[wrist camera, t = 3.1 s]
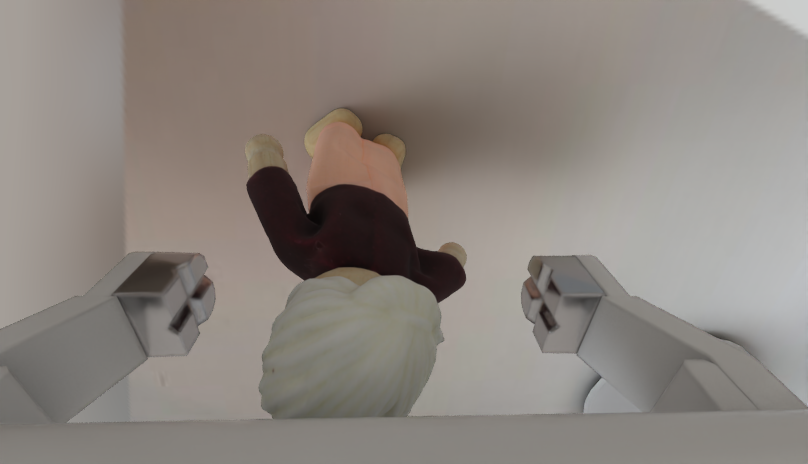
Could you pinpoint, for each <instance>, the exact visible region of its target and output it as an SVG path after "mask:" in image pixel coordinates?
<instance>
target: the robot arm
mask: <svg viewBox="0 0 808 464" xmlns="http://www.w3.org/2000/svg"><path fill="white" fill-rule="evenodd" d="M207 269H208V265H207V262H206V260H205V257H204V256H203V255H201V254H200V253H180V252H133V253H129V254H128V255H127V256H126V257H124V258H123V259H122V260H121V261H120V262H119V263H118V264H117V265H116V266H115V267H114V268H113V269H112V270H110V271H109V272H108V273H107V274H106V275H105V276H104V277H103V278H102V279H101V280H100V281H99V282H98V283H96V284H95V285H94V286H93V287H92V288H91V289H90V290H89V291H88V292H87V293H86V294H85V295H83V296H75V297H72V298H70V299H68V300H65V301H63V302H61V303H58V304H56V305H54V306H52V307H49V308H47V309H45V310H43V311H41V312H38V313H36V314H33V315H31V316H29V317H27V318H24V319H22V320H20V321H18V322H16V323H13V324H11V325H9V326H6V327H4V328H2V329H0V464H808V407H807V406H806V405H805V404H804V403H803V402H802V401H801V400H800V399H799V398H798V397H797V396H796V395H795V394H793V393H792V392H791V391H790V390H789V389H788V388H787V387H786V386H785V385H784V384H783V383H782V382H781V381H780V380H779V379H777V378H776V377H775V376H774V375H773V374H772V373H771V372H770V371H769V370H768V369H767V368H766V367H765V366H764V365H763V364H761V363H760V362H759V361H758V360H757V359H756V358H755V357H753V356H751V355H749V354H747V353H745V352H743V351H741V350H740V349H738V348H736V347H734V346H732V345H730V344H728V343H726V342H724V341H722V340H720V339H718V338H716V337H714V336H712V335H711V334H709V333H707V332H705V331H703V330H701V329H699V328H697V327H695V326H693V325H691V324H689V323H687V322H685V321H683V320H682V319H680V318H678V317H676V316H674V315H672V314H670V313H668V312H666V311H664V310H662V309H660V308H658V307H656V306H654V305H653V304H651V303H649V302H647V301H645V300H643V299H641V298H639V297H637V296H630V295H629V294H628V293H627V292H626V291H625V289H624V288H623V287H622V286H621V285H620V284H619V283H618V281H617V280H616V279H615V278H614V277H613V276H612V274H611V273H610V272H609V271H608V270H607V269H606V268H605V266H604V265H603V264H602V263H601V262H600V261H599V259H598V258H597V257H595V256H593V255H572V256H533V257H532V258H531V260H530V262H529V265H528V271H529V273H530V275H531V277H529V278H528V279H527V280H526V281H525V282H524V283H523V287H522V292H521V304H522V308H523V311H524V314H525V316H526V318H527V319H528V320H529V321H531V322H532V323H534V324H535V325H534V329H533V334H534V336H535V338H536V340H537V342H538V344H539V346H540V349H541V351H542V353H577V356H578V357H579V358H581V359H582V360H583V361H584V362H585V363H586V364H587V365H589V366H590V367H591V368H592V369H593V370H594V371H595V372H597V373H598V374H599V375H600V376H601V377H602V378H604V379H605V380H606V381H607V382H608V383H609V384H610V385H612V386H613V387H614V388H615V389H616V390H617V391H618V392H620V393H621V394H622V395H623V396H624V397H625V398H626V399H628V400H629V401H630V402H631V403H632V404H633V405H634V406H636V407H637V408H638V409H639V410H640V411H641V412H627V413H572V414H518V415H466V416H412V417H358V418H304V419H250V420H196V421H143V422H90V423H66V422H67V421H69V420H70V419H71V418H73V417H74V416H75V415H76V414H78V413H79V412H80V411H82V410H83V409H84V408H85V407H87V406H88V405H89V404H91V403H92V402H93V401H95V400H96V399H97V398H98V397H99V396H101V395H102V394H104V393H105V392H106V391H107V390H109V389H110V388H111V387H113V386H114V385H115V384H116V383H118V382H119V381H120V380H122V379H123V378H124V377H125V376H127V375H128V374H129V373H131V372H132V371H133V370H135V369H136V368H137V367H138V366H140V365H141V364H142V363H144V362H145V361H146V360H147V359H148V358H147V357H169V356H187V355H188V353H189V351H190V350H191V348H192V346H193V345H194V343H195V341H196V339H197V338H198V336H199V334H200V332H199V329H198V326H199V325H200V324H202V323H203V322H205V321H206V320H208V319H209V317H210V315H211V313H212V311H213V308H214V304H215V299H216V298H215V288H214V284H213V282H212V281H211V280H210V279H209V278H208V277H206V276H205V275H204V274H205V272H206V270H207Z"/></svg>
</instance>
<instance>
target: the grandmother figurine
mask: <svg viewBox="0 0 808 464" xmlns="http://www.w3.org/2000/svg"><path fill="white" fill-rule="evenodd" d="M362 131H363V128H362V124H361V121H360V120H359V119H358V117H357V116H356V115H355V114H353V113H352V112H351V111H349V110H347V109H343V108H340V109H336V110H334V111H332V112H331V113H329V114H328V115H326V116H325V117H324V118H322V119H321V120H320V121H318V122H317V123H316V124H315V125H313V126H312V127H311V128H310V129H309V130H308V131H307V133H306V135H305V139H304V143H305V148H306V150H307V152H308V154H309V155H310V157H311V158H312V159H313V160H312V164H311V167H310V171H309V176H308V181H307V188H306V190H307V196H308V208H309V214H307V213H306V211H305V208H304V206H303V202H302V200H301V197H300V195H299V192H298V190H297V186H296V185H295V183H294V181H293V180H292V178H291V176H290V175H289V173H288V169H287V165H286V162H285V161H284V159H283V149H282V147H281V145H280V143H279V142H278V140H276V139H275V138H274V137H272V136H270V135H265V134H260V135H256V136H254V137H253V138H251V139H250V140H249V141H248V143H247V144H246V147H245V155H246V158H247V160H248V177H249V180H248V182H247V191H248V194H249V197H250V199H251V201H252V204H253V206H254V208H255V210H256V212H257V215H258V217H259V219H260V221H261V224H262V226H263V228H264V230H265V232H266V235H267V236H268V238H269V240H270V243H271V245H272V247H273V249H274V251H275V253H276V255H277V256H278V258H279V259H280V261H281V262H282V263H283V264H284V265H285V266H286V267H287V268H288V269H289V270H291V271H292V272H293V273H295V274H296V275H297V276H299V277H300V278H302V279H303V280H304V281H303V282H302V283H300V284H298V285H297V286H296V287H295V288H294V289H293V290H292V292H291V293H290V295H289V297H288V300H287V304H286V307H285V310H284V311H283V312H281V314H280V315H279V316H278V317H277V318H276V319H275V321H274V323H273V325H272V334H271V337H270V341H269V343H268V345H267V347H266V348H265V350H264V351H263V354H262V361H263V365H262V369H263V373H264V374H263V377H262V379H261V381H260V384H259V387H258V388H259V392H260V393H261V395H262V399H261V407H262V409H263V410H265V411H267V412H268V413H270V414H271V415H272V418H273V419H304V418H358V417H407V416H408V414H409V413H410V411H411V408H412V406H413V405H414V403H415V402H416V400H417V398H418V397H419V395H420V393H421V392H422V389H423V387H424V386H425V385H426V383H427V381H428V379H429V377H430V374H431V372H432V369H433V366H434V363H435V360H436V346H437V345H438V344H439V343H440V342H443V341H444V338H443V333H442V331H441V329H440V322H441V311H440V308H439V305H438V303H439V302H441V301H442V300H444V299H445V298H447V297H449V296H450V295H451V294H452V293H454V292H456V291H457V290H458V289H460V288H461V287H462V286H463V285H464V283H465V281H466V274H465V271H464V269H463V267H464V265H465V263H466V259H467V255H466V252H465V250H464V249H463V248H462V246H460V245H459V244H457V243H453V242H452V243H447V244H444V245H443V246H441V247H440V249H439V251H429V250H423V249H420V248H418V247H416V244H415V241H414V238H413V235H412V232H411V229H410V225H409V221H408V206H407V194H406V189H405V186H404V183H403V179H402V174H401V166H402V163H403V160H404V158H405V154H406V147H405V145H404V143H403V142H402V141H401V140H400V139H399V138H397V137H395V136H393V135H390V134H381V135H378V136H377V137H376V138H375V139H374V140H373V141H369V140H366V139H362V138H361V135H362Z"/></svg>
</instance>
